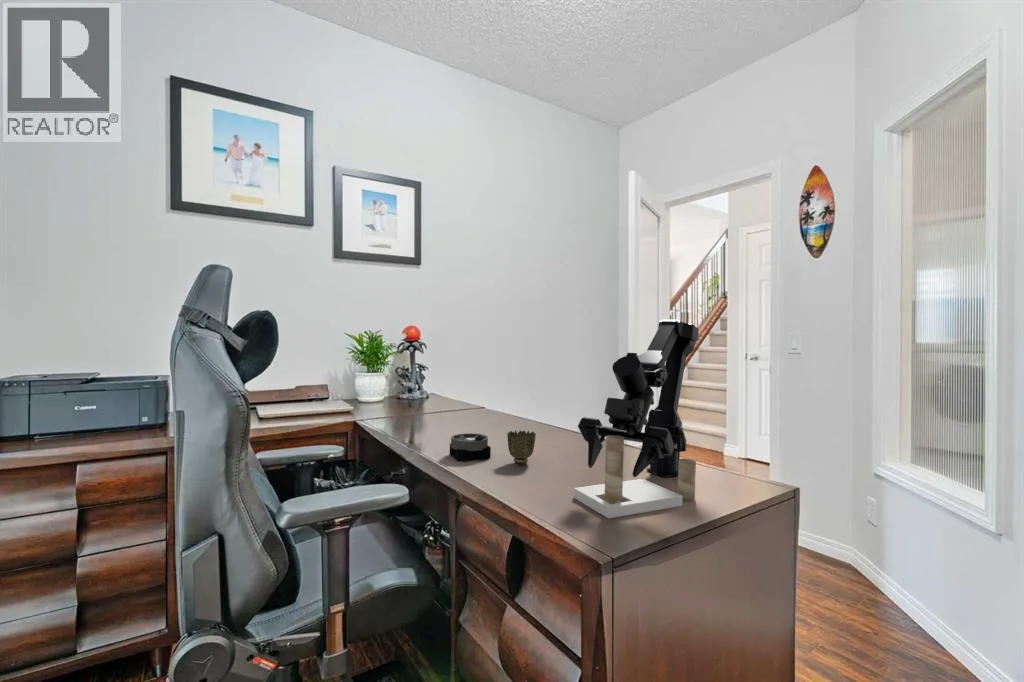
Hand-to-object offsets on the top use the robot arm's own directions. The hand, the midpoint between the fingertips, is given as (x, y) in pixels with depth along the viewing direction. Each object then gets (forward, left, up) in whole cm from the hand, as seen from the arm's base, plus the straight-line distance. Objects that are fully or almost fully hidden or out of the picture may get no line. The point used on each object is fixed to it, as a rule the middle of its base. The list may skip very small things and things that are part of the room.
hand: (611, 471), depth 93 cm
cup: (+2, -36, -8) cm, 37 cm away
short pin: (-19, 0, -8) cm, 21 cm away
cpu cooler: (+12, -47, -8) cm, 49 cm away
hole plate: (-6, -3, -8) cm, 10 cm away
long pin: (-1, -1, -8) cm, 8 cm away
